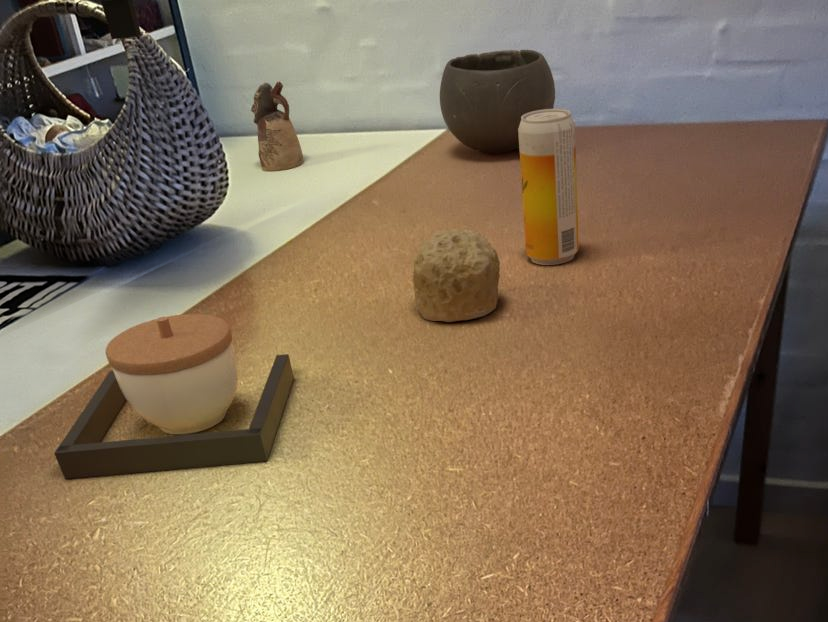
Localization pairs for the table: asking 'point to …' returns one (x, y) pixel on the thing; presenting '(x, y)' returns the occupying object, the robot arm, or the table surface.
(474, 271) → the coral
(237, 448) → the frame
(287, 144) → the figurine
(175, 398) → the trinket box
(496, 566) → the table surface
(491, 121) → the bowl
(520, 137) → the beer can
